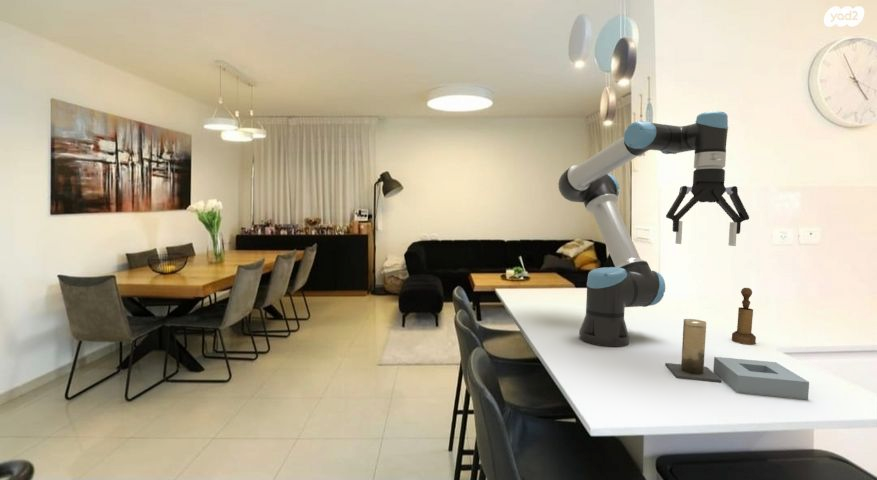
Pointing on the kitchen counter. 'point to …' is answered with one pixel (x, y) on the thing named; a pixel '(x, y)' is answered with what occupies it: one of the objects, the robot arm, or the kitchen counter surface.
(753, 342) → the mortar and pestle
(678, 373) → the rubber pad
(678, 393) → the kitchen counter surface
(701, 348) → the tan cylinder
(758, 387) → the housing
